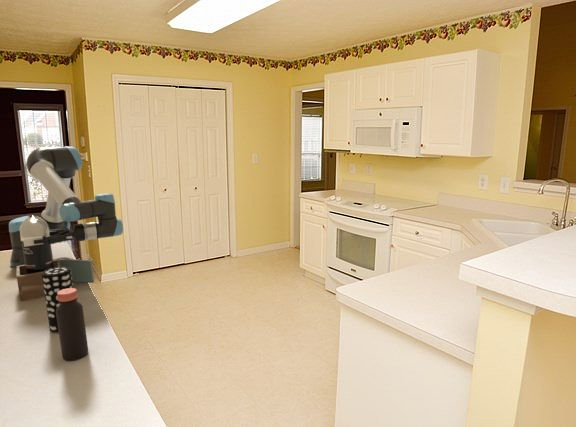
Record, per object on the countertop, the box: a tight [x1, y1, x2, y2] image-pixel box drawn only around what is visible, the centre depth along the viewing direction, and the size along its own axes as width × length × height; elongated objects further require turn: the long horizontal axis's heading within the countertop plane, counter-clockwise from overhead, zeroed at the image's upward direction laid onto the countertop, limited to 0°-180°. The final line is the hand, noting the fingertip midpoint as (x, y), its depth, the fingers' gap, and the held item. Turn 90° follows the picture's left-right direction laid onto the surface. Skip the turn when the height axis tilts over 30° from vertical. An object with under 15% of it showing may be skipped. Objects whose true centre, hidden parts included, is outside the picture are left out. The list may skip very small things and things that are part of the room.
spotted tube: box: [42, 266, 74, 334], centre depth 133 cm, size 8×8×20 cm
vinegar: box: [56, 287, 89, 362], centre depth 115 cm, size 7×7×20 cm
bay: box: [15, 259, 59, 302], centre depth 166 cm, size 16×15×10 cm
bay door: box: [58, 258, 95, 284], centre depth 176 cm, size 16×1×10 cm, turn 79°
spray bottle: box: [19, 214, 54, 274], centre depth 163 cm, size 10×10×25 cm
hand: (23, 240), depth 161 cm, fingers closed on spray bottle, 10 cm apart
